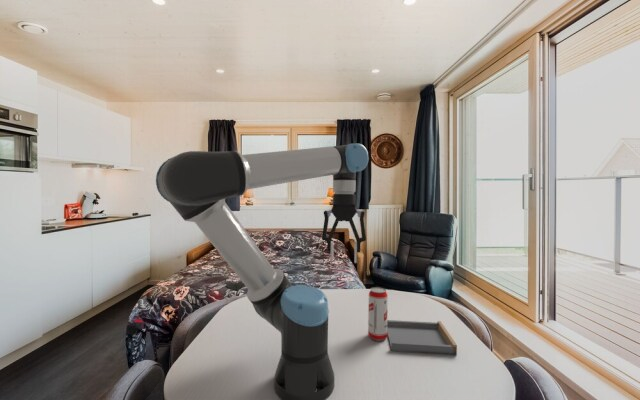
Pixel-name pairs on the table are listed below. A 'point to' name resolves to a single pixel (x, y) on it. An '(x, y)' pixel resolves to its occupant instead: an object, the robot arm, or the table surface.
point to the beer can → (377, 313)
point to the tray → (420, 337)
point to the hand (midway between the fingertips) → (343, 261)
